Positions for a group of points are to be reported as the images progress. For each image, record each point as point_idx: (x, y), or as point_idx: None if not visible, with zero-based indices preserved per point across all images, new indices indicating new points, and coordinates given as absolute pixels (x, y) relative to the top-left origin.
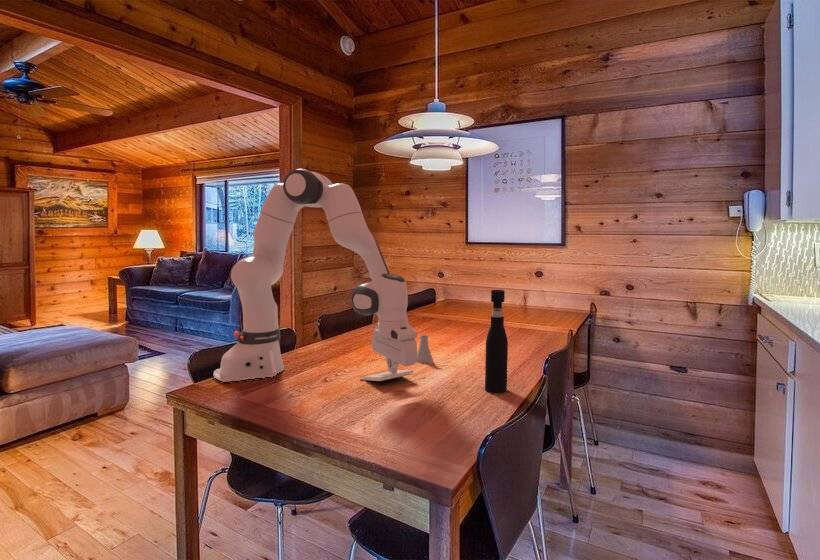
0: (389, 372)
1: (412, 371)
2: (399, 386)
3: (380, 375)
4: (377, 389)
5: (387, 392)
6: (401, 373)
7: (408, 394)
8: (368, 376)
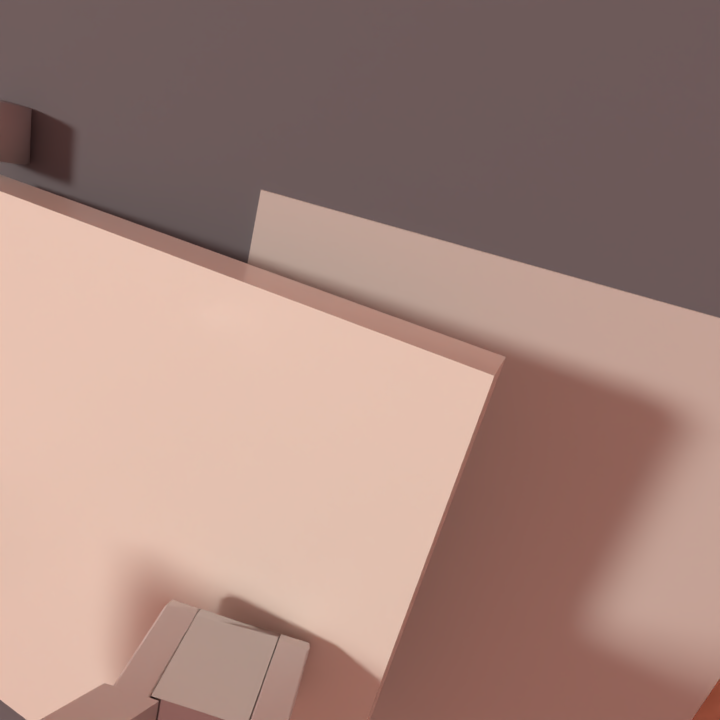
0: (54, 448)
1: (491, 383)
2: None
3: None
4: None
5: None
6: (401, 620)
7: None
8: (11, 689)
